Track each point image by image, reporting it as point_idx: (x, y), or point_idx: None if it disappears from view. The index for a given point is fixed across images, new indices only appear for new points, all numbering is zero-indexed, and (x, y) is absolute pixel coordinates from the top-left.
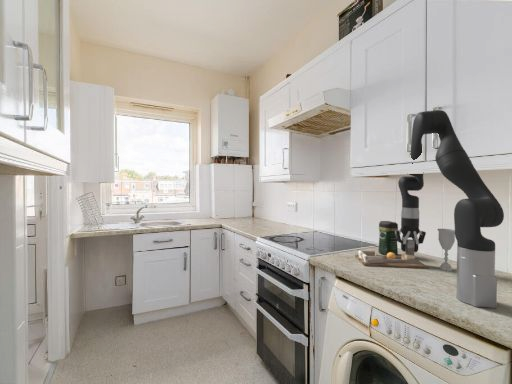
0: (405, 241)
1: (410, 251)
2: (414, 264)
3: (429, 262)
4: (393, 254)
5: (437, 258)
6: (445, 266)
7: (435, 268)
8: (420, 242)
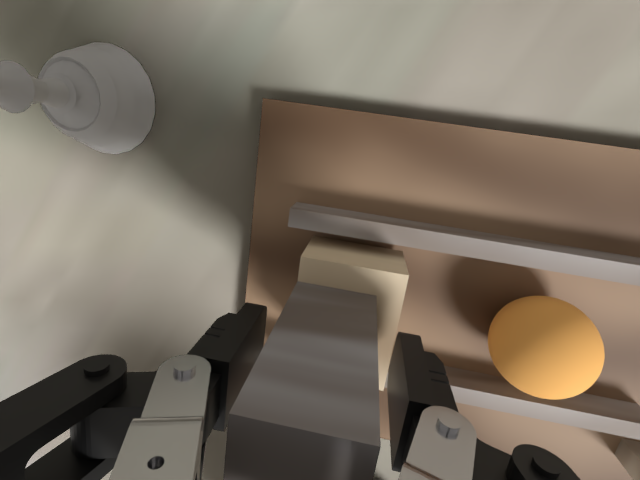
0: (425, 445)
1: (339, 309)
2: (363, 174)
3: (137, 298)
4: (557, 328)
5: None
6: (102, 63)
7: (191, 117)
8: (122, 372)
